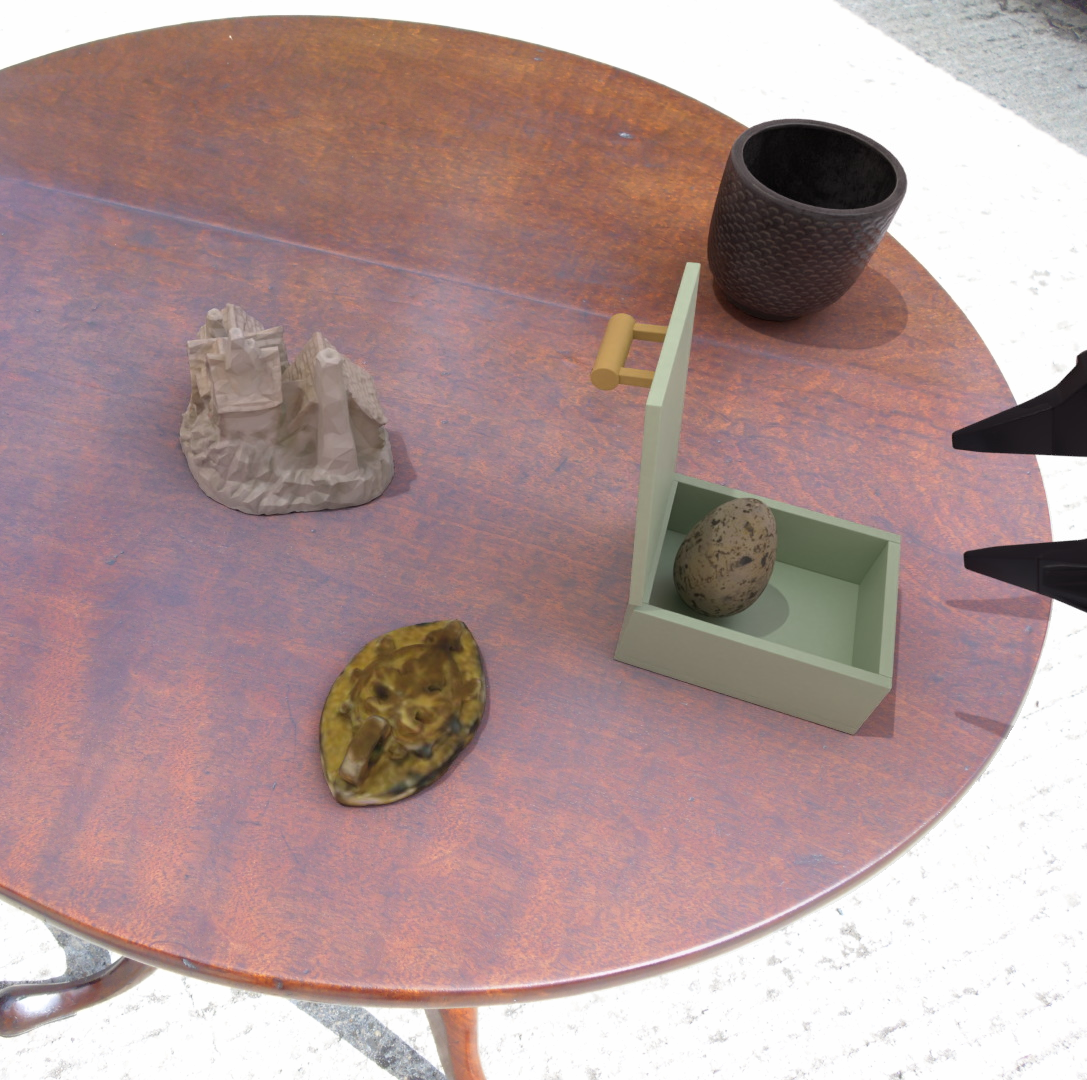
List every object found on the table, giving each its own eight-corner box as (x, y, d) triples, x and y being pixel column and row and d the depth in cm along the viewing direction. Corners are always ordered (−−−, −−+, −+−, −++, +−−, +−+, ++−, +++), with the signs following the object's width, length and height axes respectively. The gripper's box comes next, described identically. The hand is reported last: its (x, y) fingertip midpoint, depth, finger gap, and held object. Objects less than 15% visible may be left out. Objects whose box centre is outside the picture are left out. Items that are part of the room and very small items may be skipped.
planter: (879, 318, 94) (947, 189, 84) (757, 363, 90) (812, 233, 80) (774, 230, 102) (825, 102, 91) (656, 269, 97) (695, 139, 87)
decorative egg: (642, 593, 73) (687, 497, 65) (696, 553, 76) (746, 456, 68) (710, 652, 70) (766, 559, 63) (764, 608, 73) (824, 513, 65)
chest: (866, 586, 75) (901, 535, 71) (853, 735, 68) (892, 689, 63) (648, 523, 78) (668, 470, 74) (613, 659, 71) (633, 609, 66)
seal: (394, 608, 74) (280, 780, 66) (391, 564, 71) (270, 739, 62) (519, 657, 71) (416, 845, 62) (522, 613, 67) (413, 806, 59)
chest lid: (700, 262, 61) (623, 255, 63) (661, 406, 54) (574, 394, 55) (676, 466, 73) (612, 456, 75) (641, 606, 66) (570, 593, 67)
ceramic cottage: (396, 515, 78) (400, 349, 66) (170, 519, 78) (136, 353, 66) (390, 378, 88) (392, 215, 77) (191, 381, 88) (164, 218, 77)
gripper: (1295, 220, 53) (938, 280, 60) (1421, 493, 42) (963, 525, 49) (1264, 388, 60) (949, 423, 67) (1365, 660, 49) (972, 666, 56)
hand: (957, 497), depth 60 cm, fingers open, 9 cm apart
